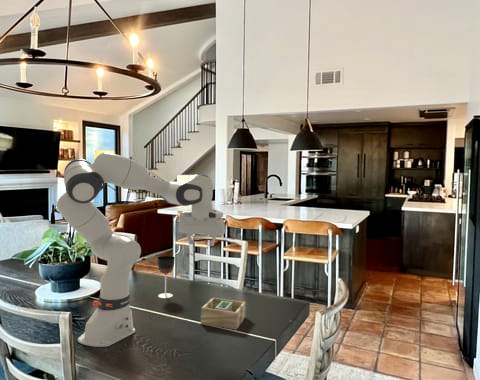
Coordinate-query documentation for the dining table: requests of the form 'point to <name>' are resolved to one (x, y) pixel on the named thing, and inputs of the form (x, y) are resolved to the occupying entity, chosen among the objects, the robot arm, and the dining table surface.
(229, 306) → the green crate
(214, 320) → the birch crate
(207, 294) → the dining table surface
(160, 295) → the wineglass
